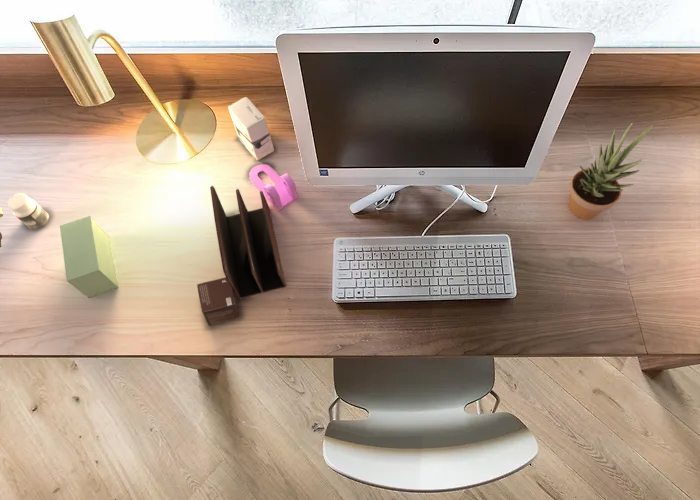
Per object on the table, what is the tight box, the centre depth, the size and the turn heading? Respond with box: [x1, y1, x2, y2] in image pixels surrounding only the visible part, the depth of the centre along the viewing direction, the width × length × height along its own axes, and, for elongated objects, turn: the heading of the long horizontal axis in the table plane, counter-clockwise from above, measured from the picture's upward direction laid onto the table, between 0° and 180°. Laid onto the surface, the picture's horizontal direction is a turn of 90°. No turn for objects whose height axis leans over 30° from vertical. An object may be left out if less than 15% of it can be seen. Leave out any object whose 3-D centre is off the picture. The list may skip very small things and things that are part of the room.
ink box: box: [227, 96, 275, 161], centre depth 111 cm, size 8×5×12 cm, turn 37°
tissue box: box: [59, 215, 119, 298], centre depth 98 cm, size 6×13×9 cm, turn 22°
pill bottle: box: [6, 192, 50, 230], centre depth 105 cm, size 5×5×8 cm
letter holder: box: [209, 185, 287, 300], centre depth 96 cm, size 10×20×14 cm, turn 15°
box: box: [196, 276, 240, 327], centre depth 93 cm, size 6×6×7 cm
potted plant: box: [567, 122, 654, 220], centre depth 94 cm, size 10×10×25 cm
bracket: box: [248, 163, 299, 212], centre depth 107 cm, size 13×6×7 cm, turn 39°
